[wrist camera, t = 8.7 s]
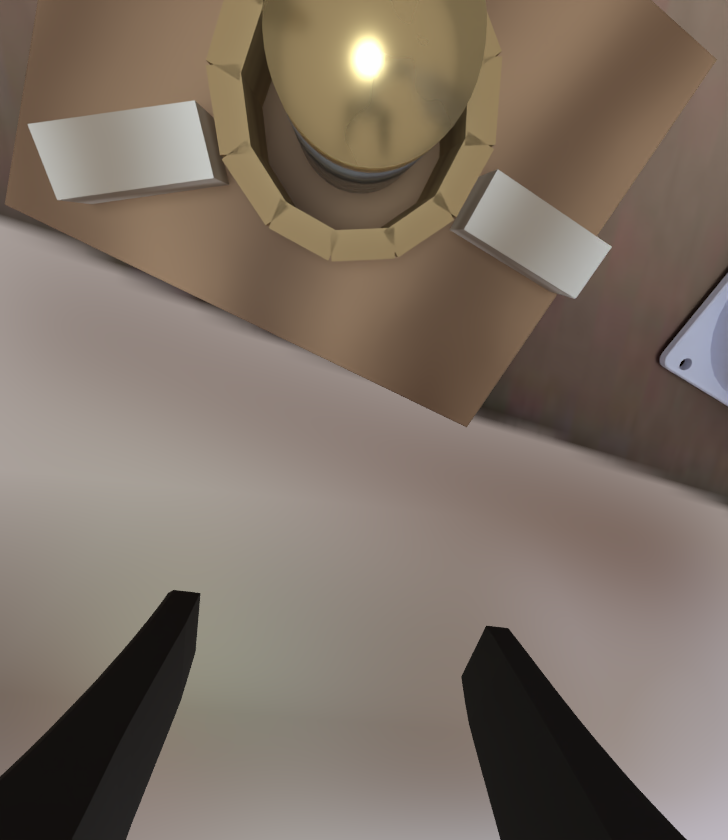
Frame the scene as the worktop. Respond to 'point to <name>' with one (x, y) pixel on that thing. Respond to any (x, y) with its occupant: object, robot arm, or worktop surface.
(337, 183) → the cylinder
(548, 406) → the worktop surface
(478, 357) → the shaft board
